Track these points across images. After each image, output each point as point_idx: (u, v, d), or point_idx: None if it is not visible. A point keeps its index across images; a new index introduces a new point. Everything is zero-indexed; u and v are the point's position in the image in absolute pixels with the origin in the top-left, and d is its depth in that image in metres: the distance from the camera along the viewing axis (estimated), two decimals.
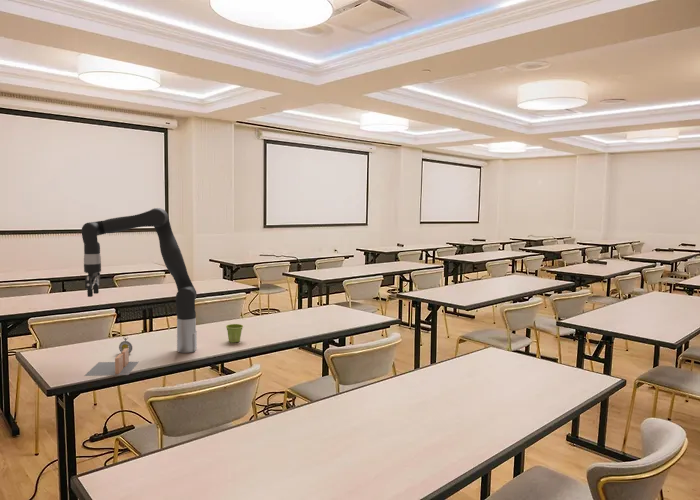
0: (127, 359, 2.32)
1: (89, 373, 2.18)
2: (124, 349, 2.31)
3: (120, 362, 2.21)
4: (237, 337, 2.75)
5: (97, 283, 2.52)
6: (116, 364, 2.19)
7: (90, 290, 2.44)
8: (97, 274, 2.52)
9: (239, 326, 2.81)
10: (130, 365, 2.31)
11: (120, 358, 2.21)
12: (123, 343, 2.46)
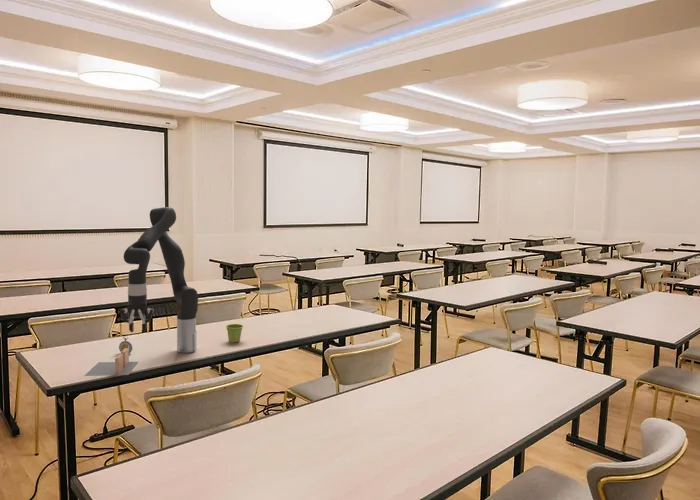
0: (127, 359, 2.32)
1: (89, 373, 2.18)
2: (124, 349, 2.31)
3: (120, 362, 2.21)
4: (237, 337, 2.75)
5: (133, 318, 2.22)
6: (116, 364, 2.19)
7: None
8: None
9: (239, 326, 2.81)
10: (130, 365, 2.31)
11: (120, 358, 2.21)
12: (123, 343, 2.46)
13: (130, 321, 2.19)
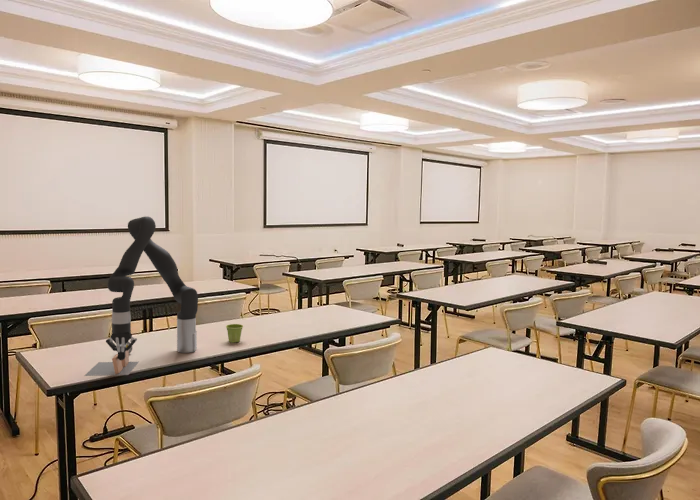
0: (127, 359, 2.32)
1: (89, 373, 2.18)
2: None
3: (118, 362, 2.21)
4: (237, 337, 2.75)
5: None
6: (114, 364, 2.18)
7: (125, 352, 2.22)
8: None
9: (239, 326, 2.81)
10: (130, 365, 2.31)
11: (117, 358, 2.21)
12: None
13: (118, 349, 2.19)
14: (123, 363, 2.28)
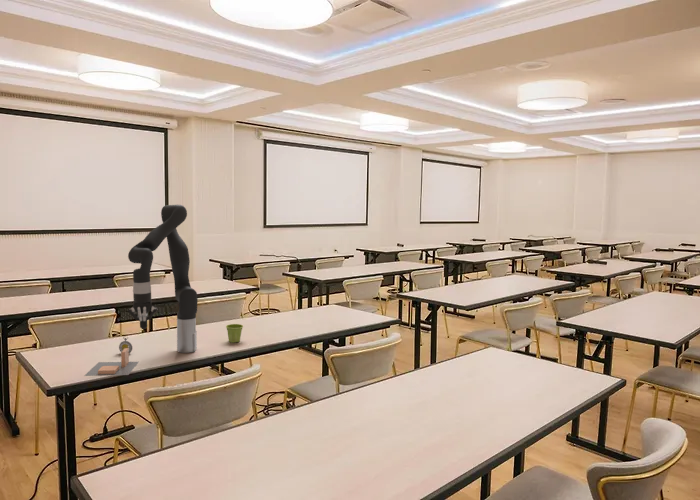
0: (127, 359, 2.32)
1: (89, 373, 2.18)
2: (124, 349, 2.31)
3: (106, 368, 2.20)
4: (237, 337, 2.75)
5: (142, 315, 2.30)
6: (104, 372, 2.18)
7: (146, 321, 2.30)
8: None
9: (239, 326, 2.81)
10: (130, 365, 2.31)
11: (101, 368, 2.20)
12: (123, 343, 2.46)
13: (140, 318, 2.28)
14: (123, 363, 2.28)
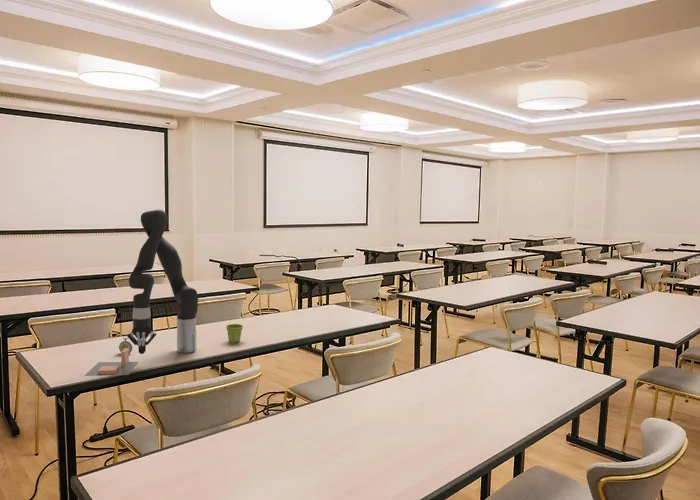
0: (127, 359, 2.32)
1: (89, 373, 2.18)
2: (124, 349, 2.31)
3: (106, 368, 2.20)
4: (237, 337, 2.75)
5: (141, 340, 2.32)
6: (104, 372, 2.18)
7: (145, 346, 2.32)
8: None
9: (239, 326, 2.81)
10: (130, 365, 2.31)
11: (101, 368, 2.20)
12: (123, 343, 2.46)
13: (139, 343, 2.29)
14: (123, 363, 2.28)
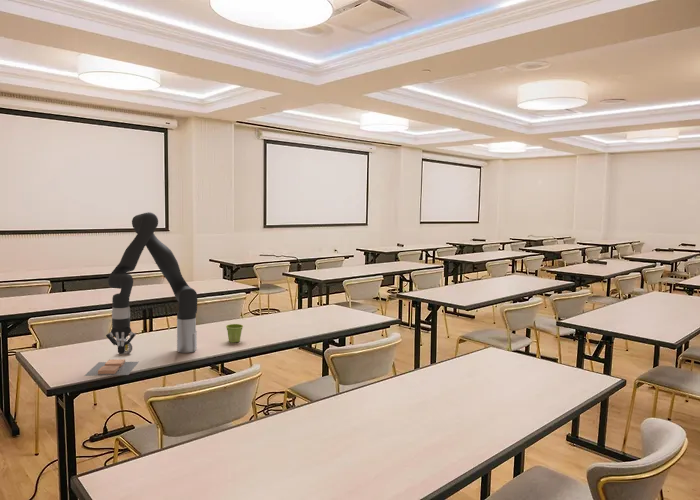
0: (118, 360, 2.31)
1: (89, 373, 2.18)
2: None
3: (106, 368, 2.20)
4: (237, 337, 2.75)
5: None
6: (104, 372, 2.18)
7: (124, 346, 2.30)
8: None
9: (239, 326, 2.81)
10: (130, 365, 2.31)
11: (101, 368, 2.20)
12: None
13: (118, 343, 2.28)
14: (117, 365, 2.27)
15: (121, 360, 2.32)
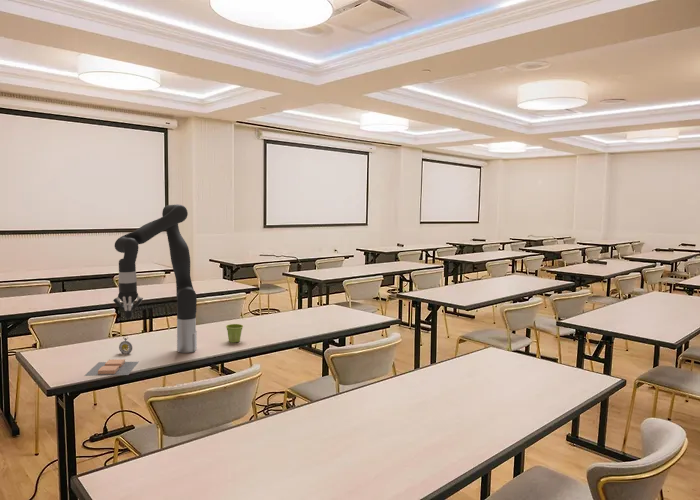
0: (118, 360, 2.31)
1: (89, 373, 2.18)
2: None
3: (106, 368, 2.20)
4: (237, 337, 2.75)
5: None
6: (104, 372, 2.18)
7: None
8: None
9: (239, 326, 2.81)
10: (130, 365, 2.31)
11: (101, 368, 2.20)
12: (123, 343, 2.46)
13: (125, 308, 2.29)
14: (117, 365, 2.27)
15: (121, 360, 2.32)
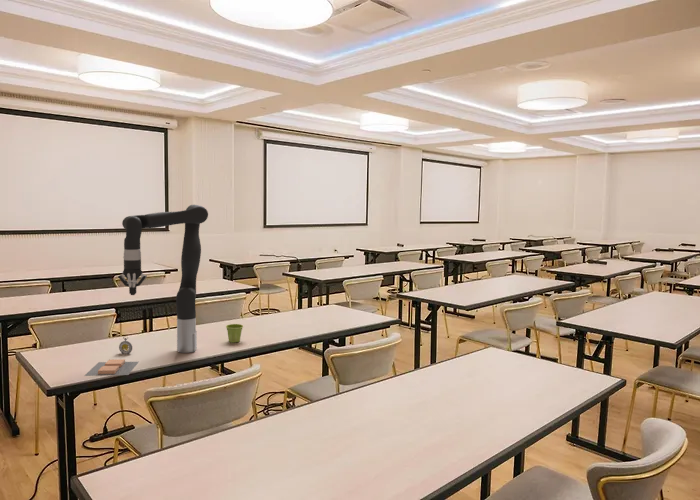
0: (118, 360, 2.31)
1: (89, 373, 2.18)
2: None
3: (106, 368, 2.20)
4: (237, 337, 2.75)
5: (132, 282, 2.38)
6: (104, 372, 2.18)
7: None
8: None
9: (239, 326, 2.81)
10: (130, 365, 2.31)
11: (101, 368, 2.20)
12: (123, 343, 2.46)
13: (130, 285, 2.36)
14: (117, 365, 2.27)
15: (121, 360, 2.32)
